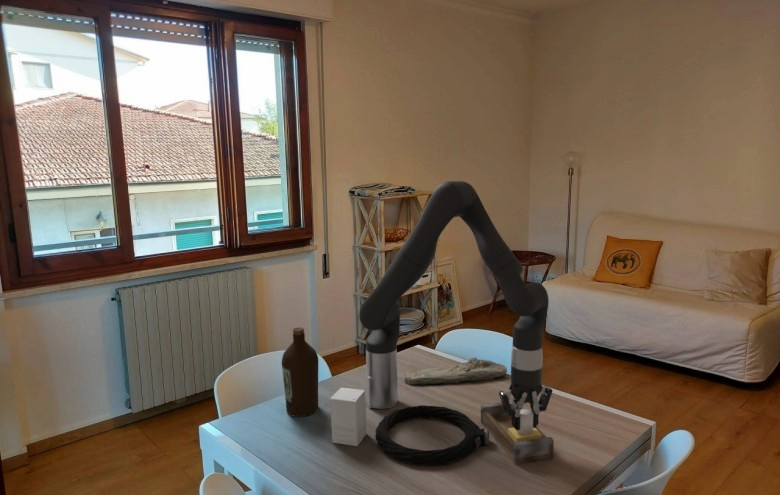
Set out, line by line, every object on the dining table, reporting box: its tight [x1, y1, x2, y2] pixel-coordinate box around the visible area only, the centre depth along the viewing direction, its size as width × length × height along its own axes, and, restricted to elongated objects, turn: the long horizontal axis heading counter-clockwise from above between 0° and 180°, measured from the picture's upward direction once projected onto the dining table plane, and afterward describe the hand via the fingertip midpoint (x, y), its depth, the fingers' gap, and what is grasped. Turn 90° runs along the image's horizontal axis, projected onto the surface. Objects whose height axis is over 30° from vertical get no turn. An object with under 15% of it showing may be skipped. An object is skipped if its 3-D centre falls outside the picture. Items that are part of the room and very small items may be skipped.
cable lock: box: [374, 405, 490, 466], centre depth 149 cm, size 28×4×30 cm
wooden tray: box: [480, 400, 555, 465], centre depth 147 cm, size 10×22×5 cm, turn 13°
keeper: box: [508, 408, 542, 442], centre depth 141 cm, size 7×5×8 cm
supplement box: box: [329, 387, 368, 447], centre depth 149 cm, size 7×7×13 cm
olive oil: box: [281, 327, 319, 418], centre depth 164 cm, size 11×11×25 cm
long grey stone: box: [403, 357, 508, 386], centre depth 187 cm, size 35×5×10 cm
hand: (524, 427), depth 141 cm, fingers closed on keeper, 4 cm apart
